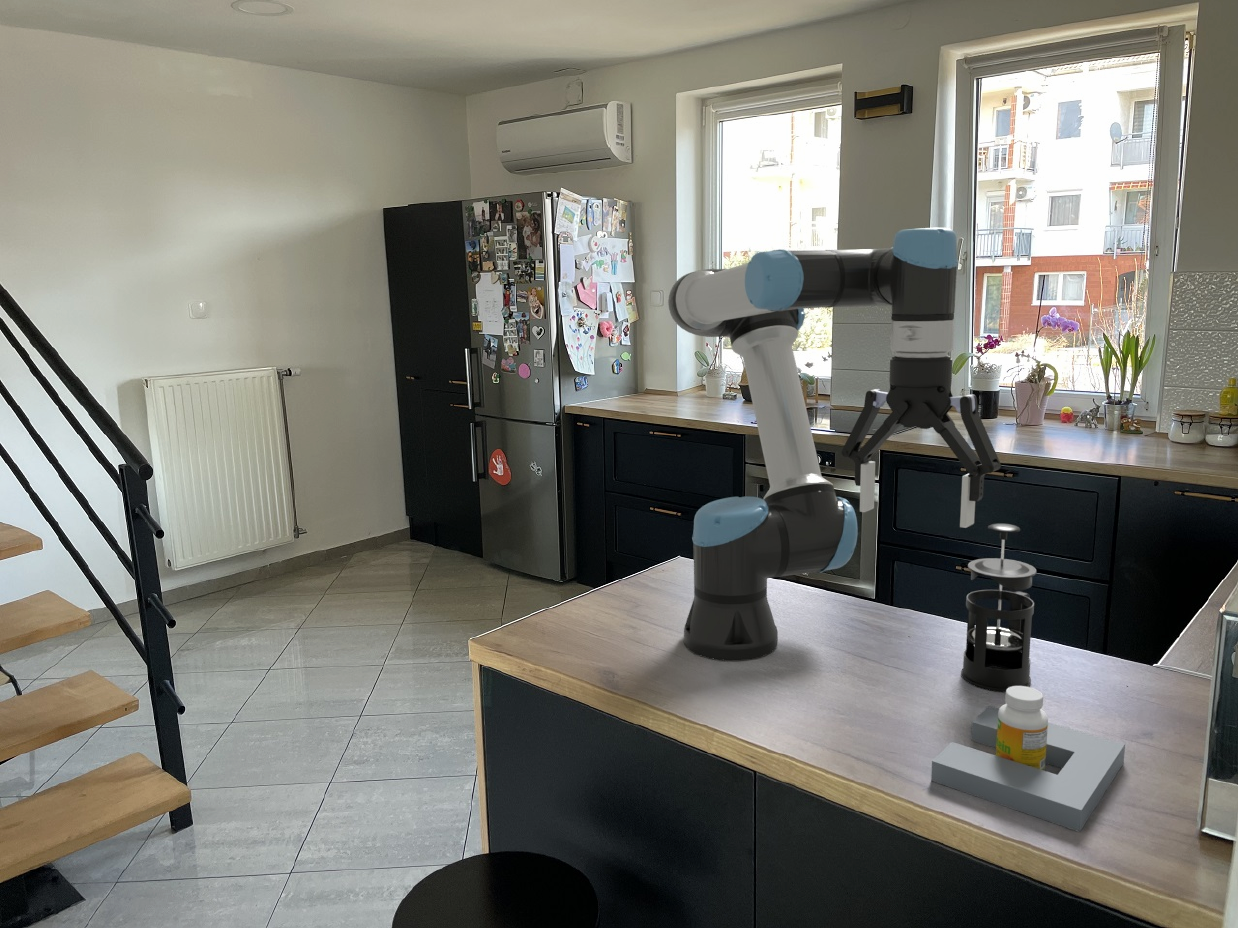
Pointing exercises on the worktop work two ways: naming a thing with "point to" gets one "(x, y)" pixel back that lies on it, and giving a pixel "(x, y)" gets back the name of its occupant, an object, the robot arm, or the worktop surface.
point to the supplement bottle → (1022, 727)
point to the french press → (998, 642)
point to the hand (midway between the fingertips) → (915, 517)
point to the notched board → (1034, 772)
